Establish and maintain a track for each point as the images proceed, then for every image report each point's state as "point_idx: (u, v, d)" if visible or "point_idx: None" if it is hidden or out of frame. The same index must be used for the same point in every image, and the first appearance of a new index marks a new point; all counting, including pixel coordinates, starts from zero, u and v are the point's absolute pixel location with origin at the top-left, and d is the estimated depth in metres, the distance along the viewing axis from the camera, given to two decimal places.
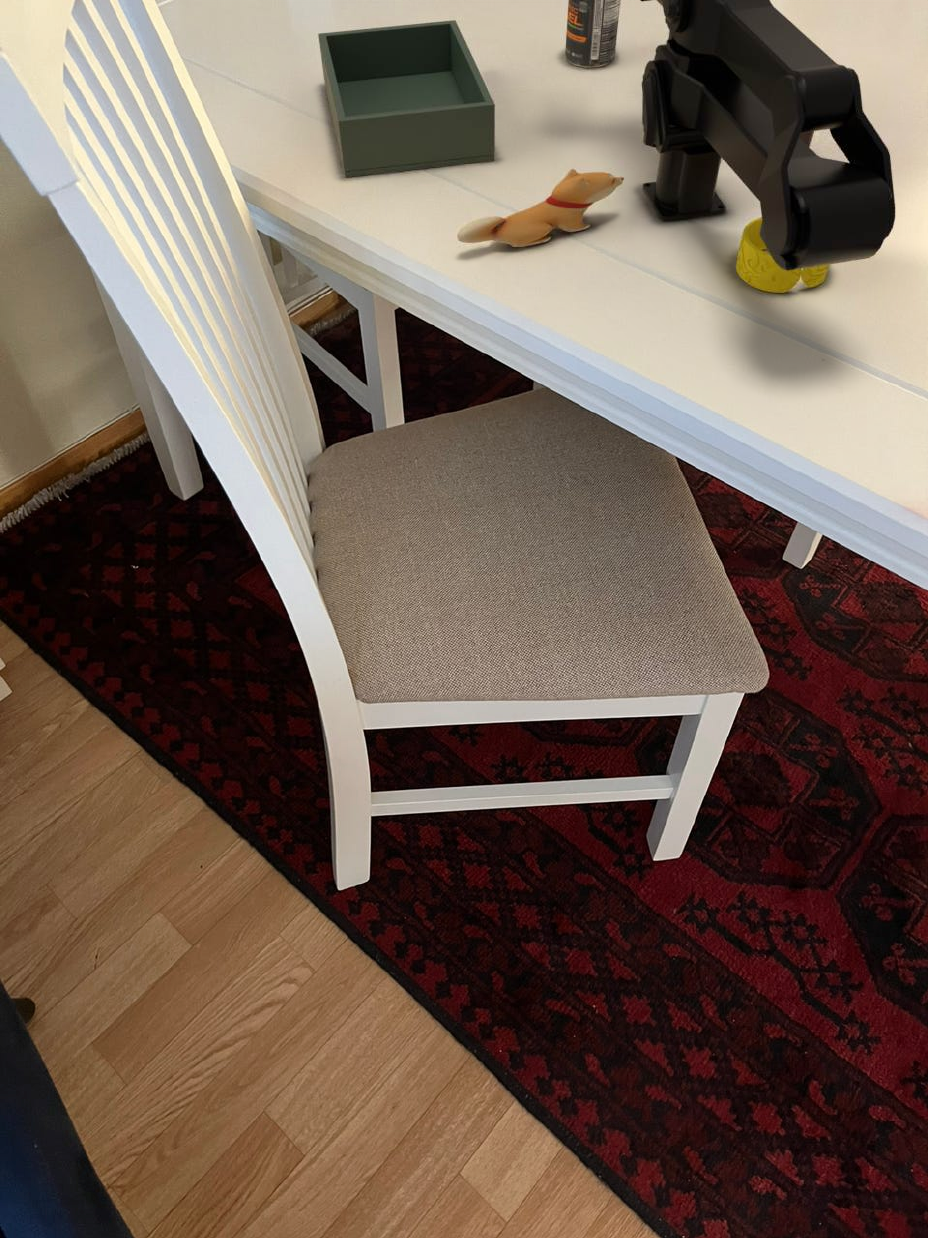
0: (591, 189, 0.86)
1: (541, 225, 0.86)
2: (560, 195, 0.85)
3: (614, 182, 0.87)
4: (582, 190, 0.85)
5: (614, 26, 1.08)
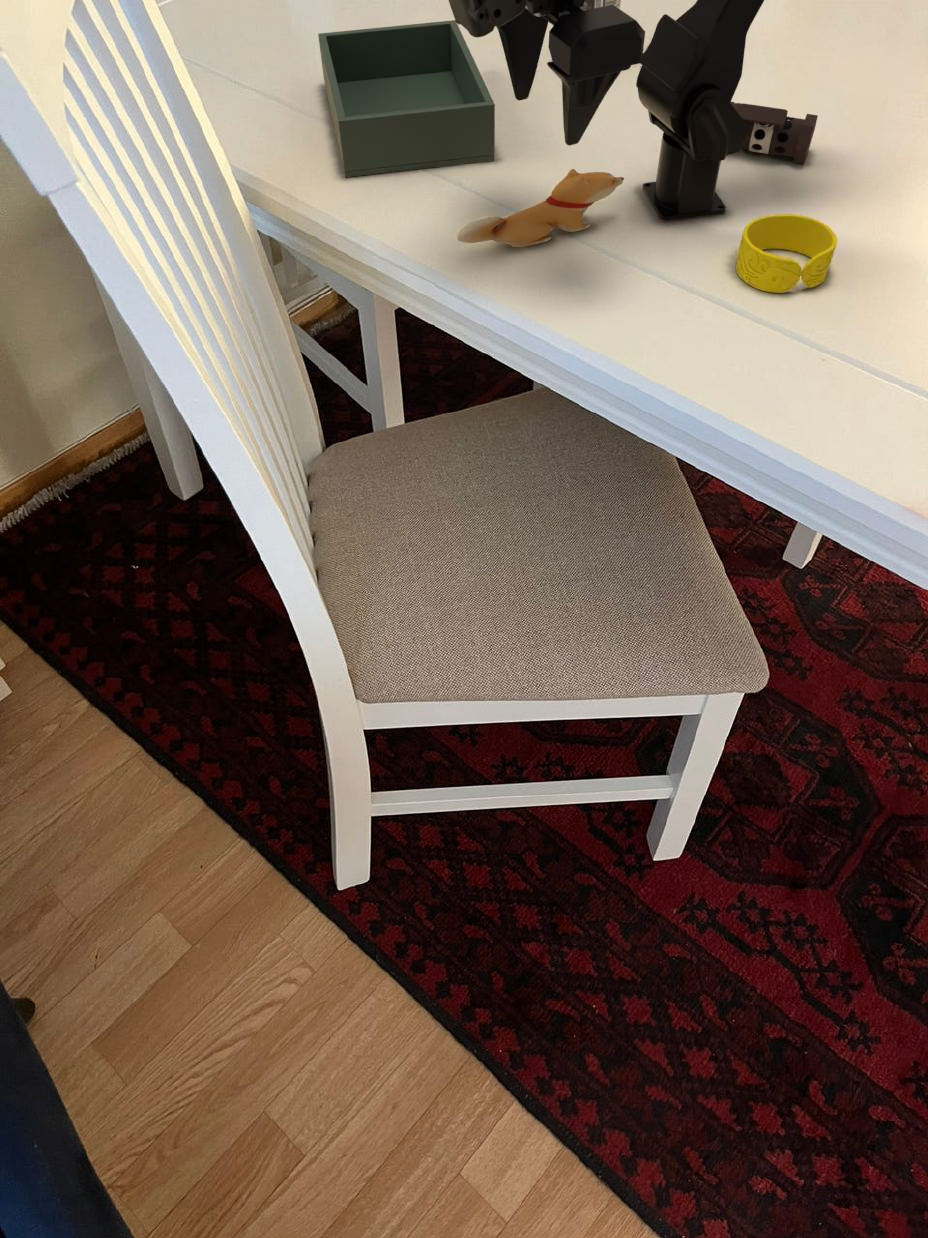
0: (591, 189, 0.86)
1: (541, 225, 0.86)
2: (559, 195, 0.85)
3: (614, 182, 0.87)
4: (582, 190, 0.85)
5: None
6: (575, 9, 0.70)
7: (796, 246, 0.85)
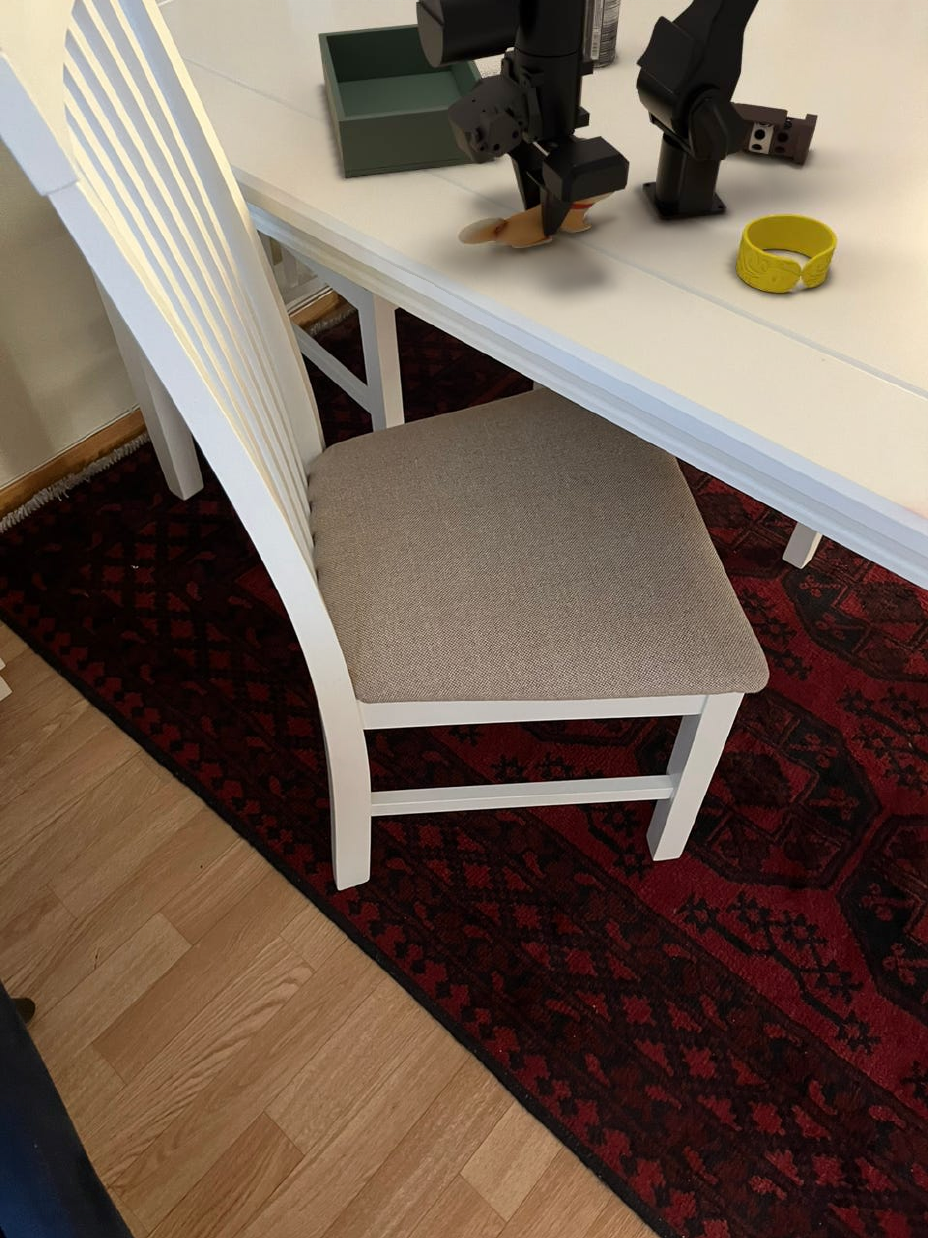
0: None
1: (542, 226, 0.86)
2: None
3: None
4: None
5: (614, 26, 1.08)
6: (566, 138, 0.78)
7: (796, 246, 0.85)
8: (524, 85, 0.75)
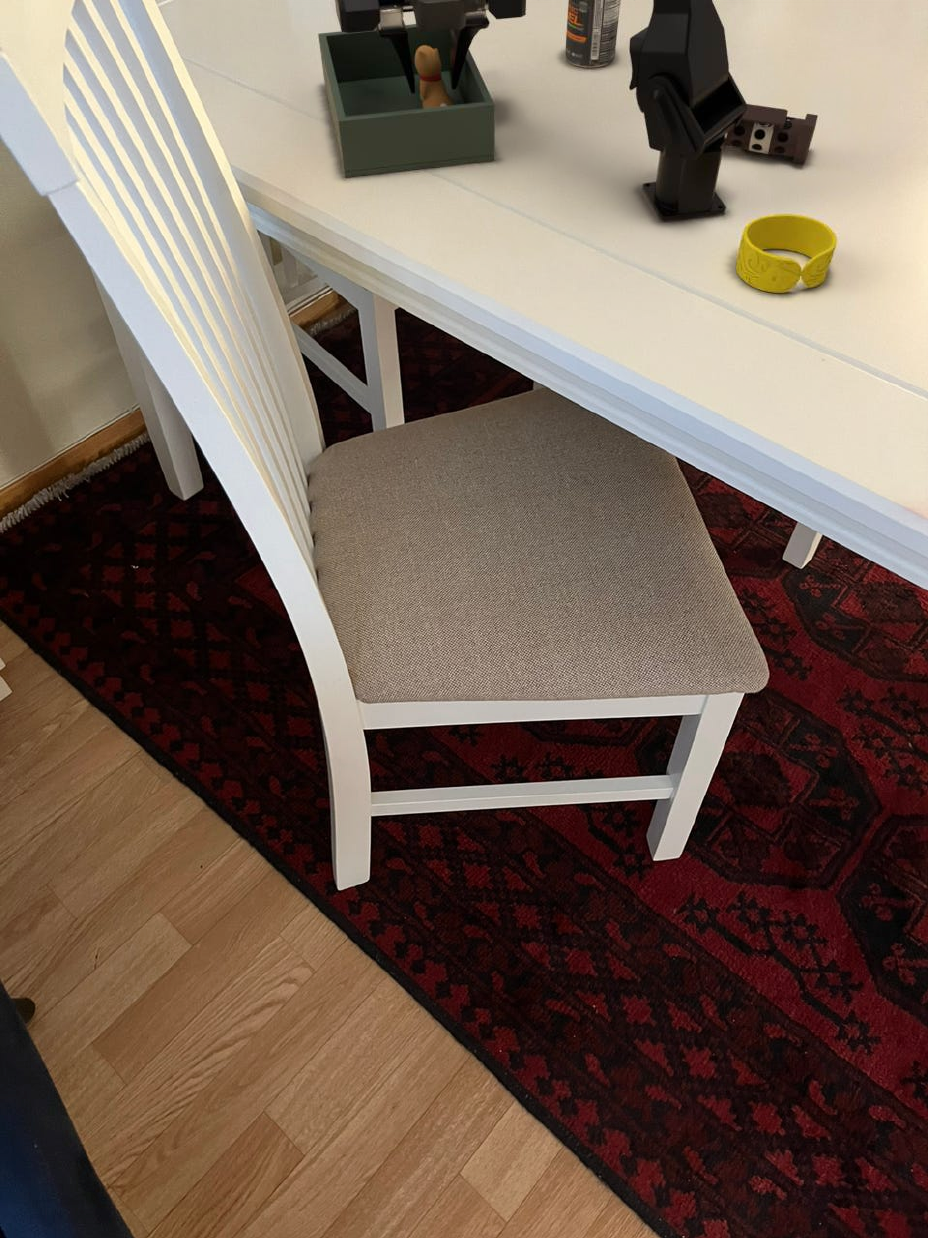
0: None
1: None
2: (437, 69, 1.01)
3: None
4: (439, 58, 1.02)
5: (614, 26, 1.08)
6: None
7: (796, 246, 0.85)
8: None
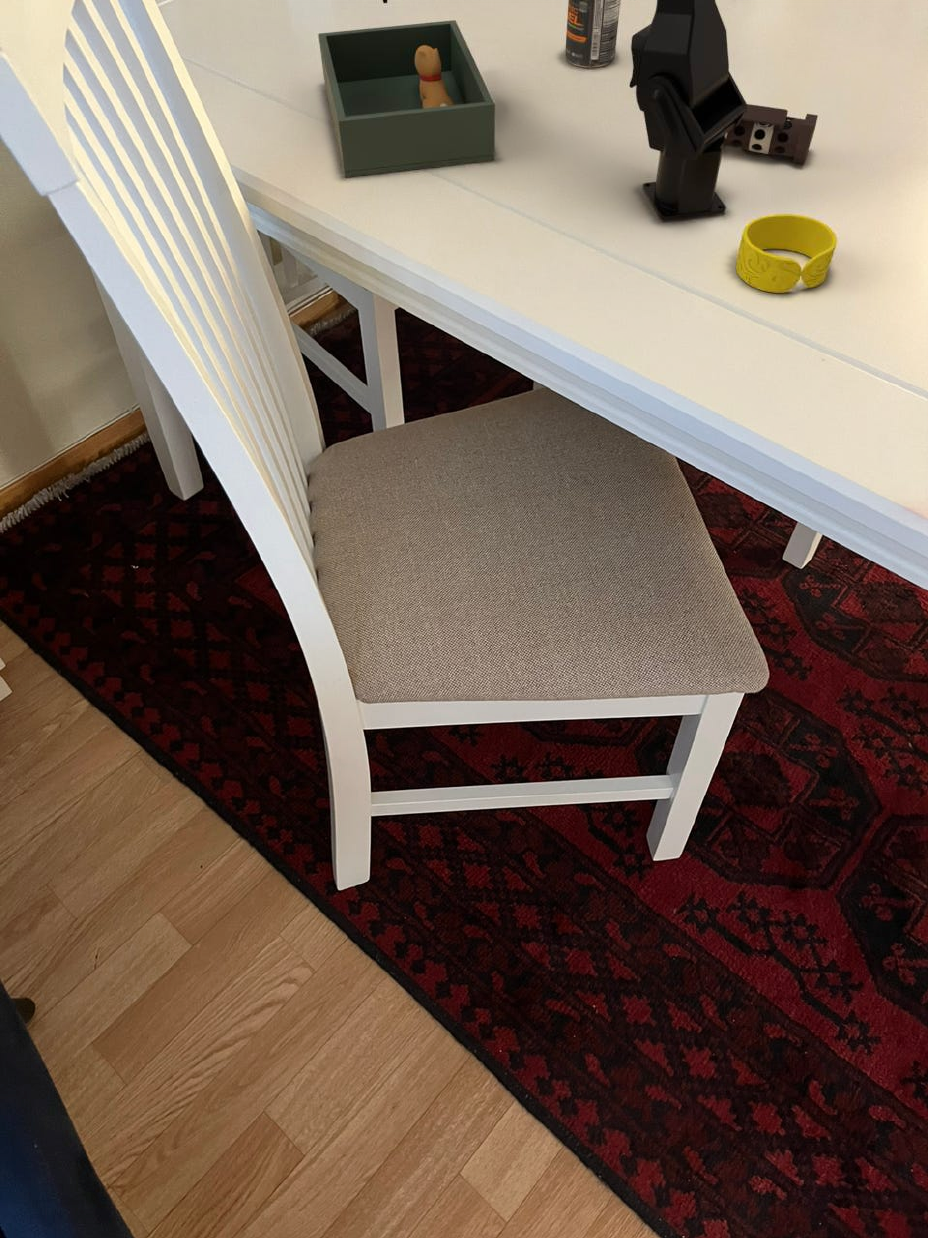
0: None
1: None
2: (437, 69, 1.01)
3: None
4: (439, 58, 1.02)
5: (614, 26, 1.08)
6: None
7: (796, 246, 0.85)
8: None
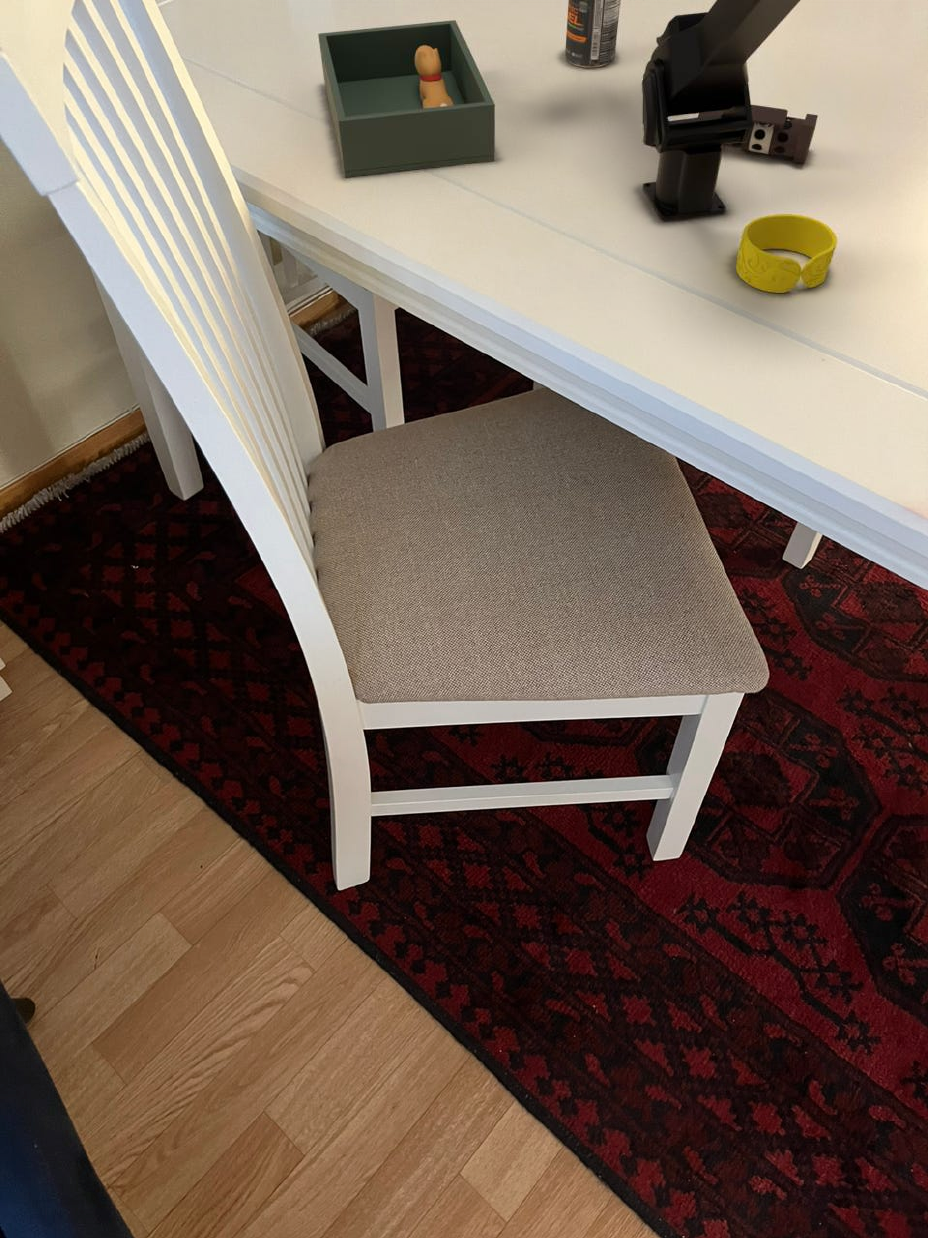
0: None
1: None
2: (437, 69, 1.01)
3: None
4: (439, 58, 1.02)
5: (614, 26, 1.08)
6: None
7: (796, 246, 0.85)
8: None
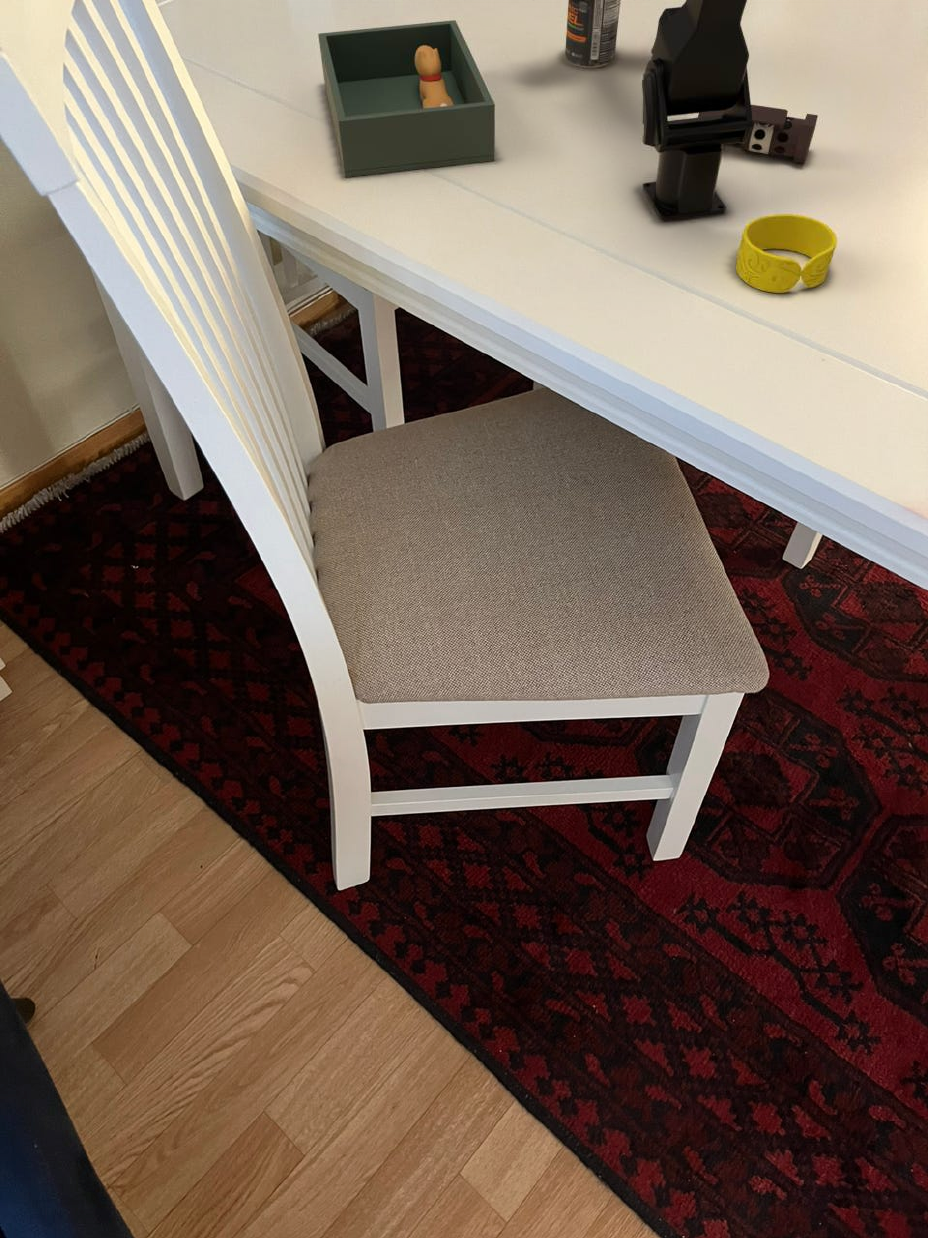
0: None
1: None
2: (437, 69, 1.01)
3: None
4: (439, 58, 1.02)
5: (614, 26, 1.08)
6: None
7: (796, 246, 0.85)
8: None
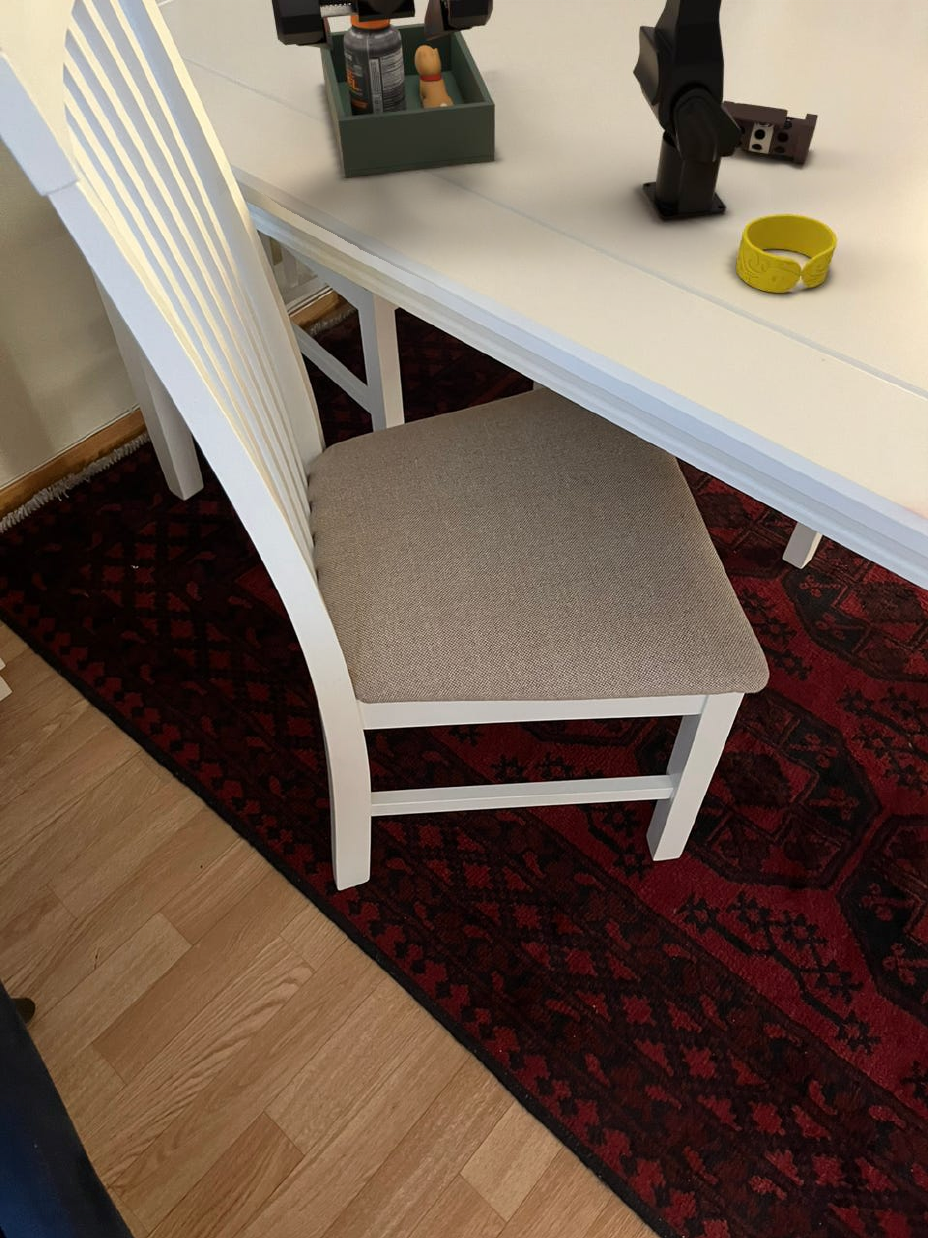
0: None
1: None
2: (437, 69, 1.01)
3: None
4: (439, 58, 1.02)
5: (398, 90, 0.97)
6: None
7: (796, 246, 0.85)
8: None
